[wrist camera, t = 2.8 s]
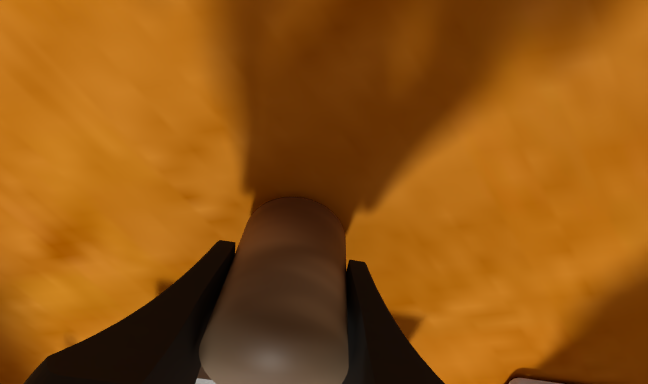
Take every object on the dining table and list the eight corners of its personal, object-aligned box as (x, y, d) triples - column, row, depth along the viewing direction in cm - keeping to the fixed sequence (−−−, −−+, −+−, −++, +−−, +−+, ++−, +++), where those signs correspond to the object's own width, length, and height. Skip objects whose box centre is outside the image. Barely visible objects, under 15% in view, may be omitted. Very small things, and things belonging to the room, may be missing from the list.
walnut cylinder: (354, 206, 15) (363, 324, 10) (335, 283, 17) (334, 412, 12) (247, 189, 15) (197, 300, 9) (242, 269, 17) (199, 395, 12)
